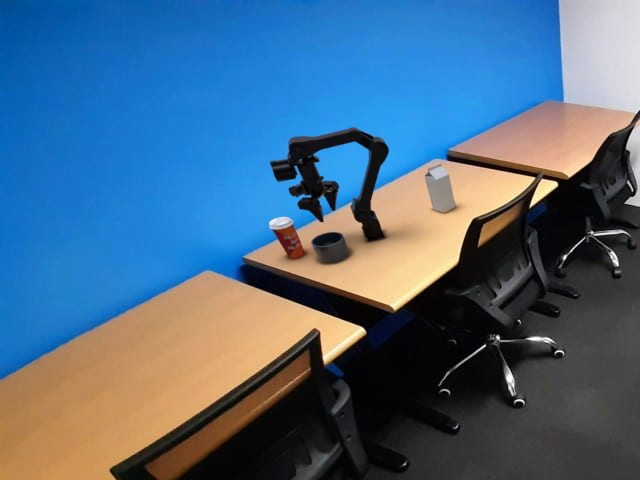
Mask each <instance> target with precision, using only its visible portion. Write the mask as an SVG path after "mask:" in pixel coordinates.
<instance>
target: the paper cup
mask: <svg viewBox="0 0 640 480" xmlns="http://www.w3.org/2000/svg"><path fill="white" fill-rule="evenodd" d="M268 224H269V229H271V230H272V232H273V233H274V235H275V237H276V238H277V240H278V243H280V245H281V247H282V249H283V250H284V252H285V254H286V255H287V257H288V258H290V259H298V258H301V257H303V256H305V254H306V252H305V249H304V246H303V244H302V242H301V239H300V237H299V235H298V232H297V229H296V227H295V225H294V220H293V219H292V218H290V217H288V216H279V217H275V218H273V219H272V220H270V221H269V223H268Z"/></svg>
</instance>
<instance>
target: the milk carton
mask: <svg viewBox="0 0 640 480" xmlns="http://www.w3.org/2000/svg"><path fill="white" fill-rule="evenodd" d="M427 170H428V171H427V172H426V174H425V175H424V179H425V184H426V187H427V191H428V196H429V200H430V204H431V208H432V210H435V211H437V212H439V213H443V214H445V213H447V212H449V211H451V210H453V209H455V208H456V207H457V206H456V201H455V196H454V192H453V186H452V183H451V178H450V174H449V172H448V171H447V170H446V169H445V168H444V167H443V164H442V163H441V162H439V163H437V164H434V165H432V166H430V167H427Z"/></svg>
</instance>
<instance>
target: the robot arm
mask: <svg viewBox="0 0 640 480" xmlns="http://www.w3.org/2000/svg"><path fill="white" fill-rule="evenodd" d="M351 143H357V144H359V145H360V146H362V147H363V148H365V149H366V150H368V161H367V165H366V169H365V174H364V178H363V180H362V184H361V188H360V190H359V191H360V192H359V194H358V197H357V198H356V197H352V203H351V204H350V207H349V208H350V210H351V213H352V215H353V218H354V220H355V221H356V222H358V223H360V224H361V231H362V232H363V235H364V238H365V239H366V240H367V242H371V241H375V240H379V239H384V238H385V236H386V235H385V234H384V231H383V228H382V226H381V222H380V220H379V218H378V216H377V214H376V212H375V210H373V209H372V199H373V195H374V192H375V188H376V184H377V180H378V177H379V173H380V169H381V167H382V165H383V164H384V163H385V161H386V160H387V158H388V155H389V153H390V148H389V146H388V145H387V143H386V141H385V140H384V139H383V138H382V137H380V136H373V135H372V134H370V133H368V132H365V131H363V130H360V129H359V128H357V127H355V126H351V127H349V128H345V129H341V130H337V131H333V132H328V133H324V134H320V135H316V136H315V135H314V136H310V135H309V136H308V135H301V136H299V135H298V136H293V137H290V139H288V142H287V146H288V152H287V155H286V157H287V158H284V159H277V160H273V159H272V160H270V161H269V165H270V167H271V170H272V172H273V173H272V174H273V176H274V178H275V180H276V182H277V183H281V182H285V181H286V182H287V181H291V180H292V181H293V180H296V179H297V176H299V175H300V177H301V180H300V183H297V184H295V185H292V186H289V187H288V188H287V190H288V193H289V195H290V196H291V197H294V198H299V197H300V196H303V195H304V196H303V197H302V198H301V199H299V200H298V201H297V203H296V205H297V208H298V209H299V210H302V211H308V212H310V213H311V215H313V217H315V218H316V220H318V221H319V222H320V223H324V219H325V218H324V212H323V205H321V201H320V199H321V198H322V197H323V198H325V200H326V202H327V204H328V206H329V208H330V210H331V211H332V212H335V211H336V209H337V199H338V193H339V190H340V185H339V183H338V182H337V181H335V180H325V177H324V175H321V174H320V171H319V170H318V167H317V165H316V163H319V162H320V157H319V156H317V155H315V154H317V153H318V152H320V151H322V150H326V149H331V148H334V147H338V146H343V145H347V144H351ZM306 196H307V197H306ZM309 196H310V197H309Z"/></svg>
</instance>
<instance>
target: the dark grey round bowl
mask: <svg viewBox="0 0 640 480" xmlns="http://www.w3.org/2000/svg"><path fill="white" fill-rule="evenodd" d="M325 243H335V244H332V245H328V246H324V245H325ZM310 244H311V246H312V248H313V251H314V253H315V255H316V257H317V259H318V261H319V262H320V263H323V264H335V263H339V262H342V261H344V260H346V259H347V258H348V257H350V255H351V250H350V248H349V245H348V243H347V241H346V238H345V236H344V234H343V233H342V232H338V231H329V232H323V233H321V234H318V235H316V236H315V237H313V238H312V239H311V241H310Z"/></svg>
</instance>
